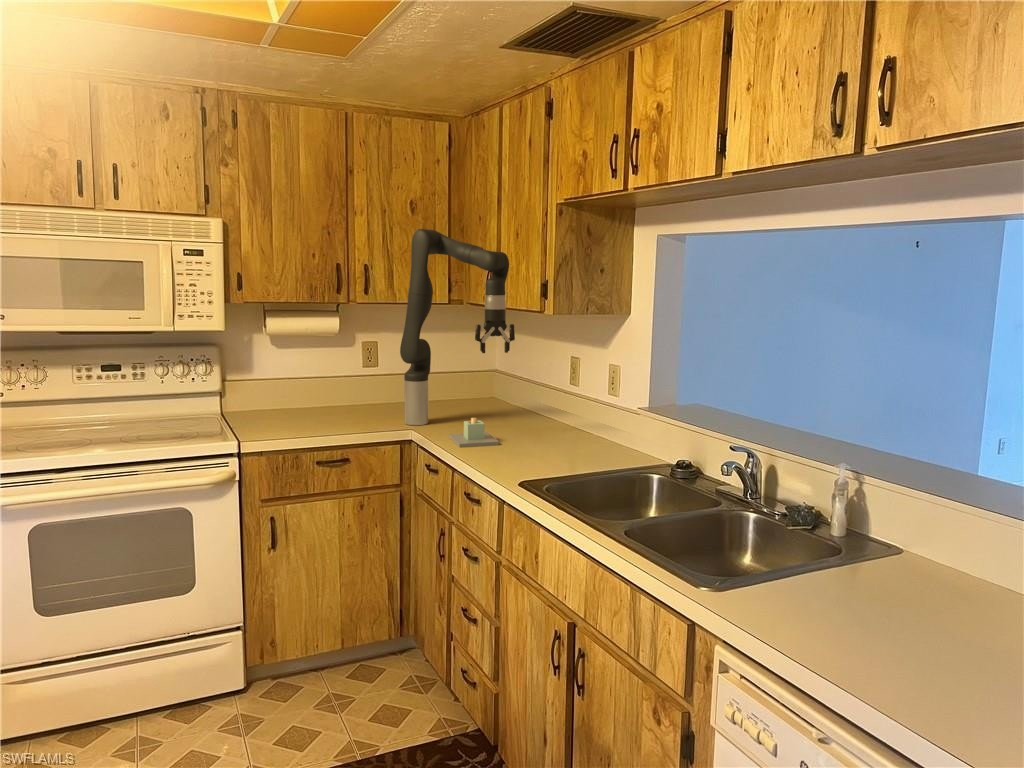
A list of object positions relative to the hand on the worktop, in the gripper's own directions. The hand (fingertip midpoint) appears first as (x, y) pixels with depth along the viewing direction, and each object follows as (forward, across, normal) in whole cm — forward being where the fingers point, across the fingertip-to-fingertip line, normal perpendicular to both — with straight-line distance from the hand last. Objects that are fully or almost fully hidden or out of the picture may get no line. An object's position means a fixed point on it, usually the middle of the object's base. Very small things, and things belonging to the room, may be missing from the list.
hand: (494, 352), depth 267 cm
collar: (+29, +10, +9) cm, 32 cm away
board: (+30, +10, +9) cm, 33 cm away
